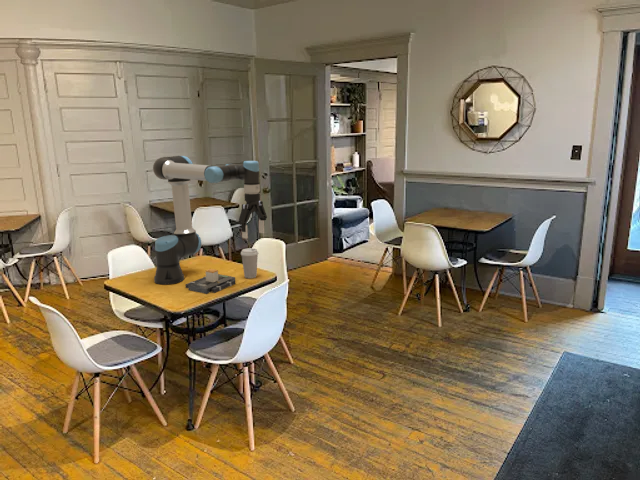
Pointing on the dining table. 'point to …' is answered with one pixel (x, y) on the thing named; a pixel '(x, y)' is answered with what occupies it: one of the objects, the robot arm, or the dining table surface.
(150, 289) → the dining table surface
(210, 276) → the lever
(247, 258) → the coffee cup
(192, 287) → the panel
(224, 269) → the dining table surface
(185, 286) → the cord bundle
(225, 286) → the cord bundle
